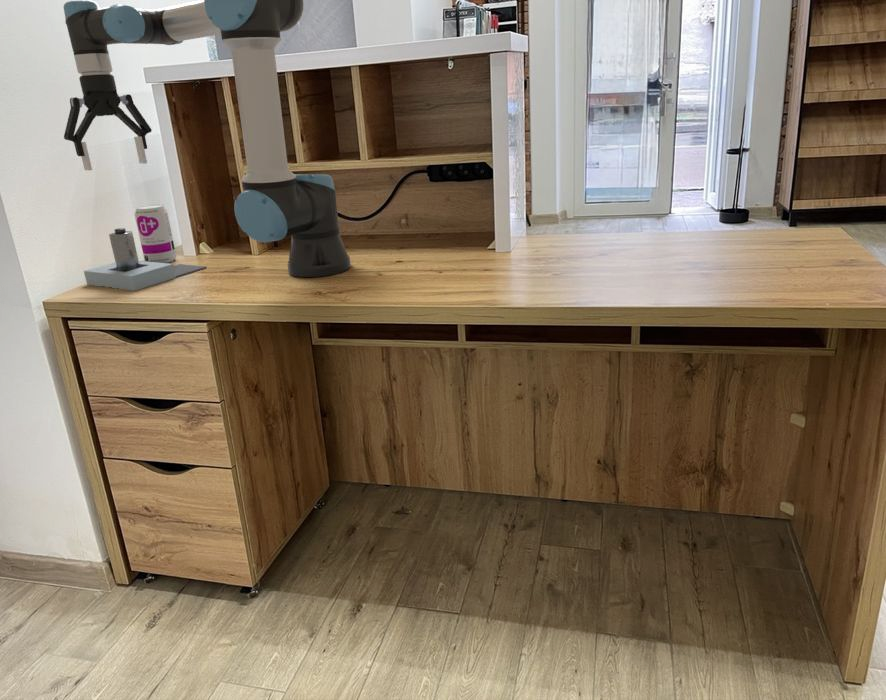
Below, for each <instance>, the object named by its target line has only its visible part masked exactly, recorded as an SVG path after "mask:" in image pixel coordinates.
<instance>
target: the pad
mask: <svg viewBox="0 0 886 700" xmlns="http://www.w3.org/2000/svg"><path fill="white" fill-rule="evenodd" d="M173 267H174V272H175V277H176V278H180V277H182V276H186V275H188V274H192V273H195V272H198V271H202V270H204V269H205V270H206V269H207V266H206V265H205V266H203V265H195V264H194V265H193V264H181V263H179V264H175V265H173ZM176 278H175V279H176Z"/></svg>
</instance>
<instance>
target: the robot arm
mask: <svg viewBox="0 0 886 700" xmlns="http://www.w3.org/2000/svg"><path fill="white" fill-rule="evenodd" d="M304 5H305V4H304V0H196V1H192V2H186V3H182V4H178V5H177V4H176V5H173V6H172V5H171V6H168V7H163V8H155V9H150V8H149V9H147V8H137V7H136V8H135V7H134V6H132V5H130V4H113V5H111V6H106V7H102V8H101V7H99V4H98V3H97V2H96V1H93V0H70V1H66V2H65V3H64V4H63V12H64V18H65V25H66V27H67V32H68V36H69V39H70V44H71V47H72V52H73V57H74V60H75V61H74V62H75V65H76V70H77V73H78V74H80V76H79V82H80V83H79V84H80V87H81V91H82V96H83V97H82V98H79V97H77V96H76V97H71V98H70V99H69V104H70V111H69V115H68V118H67V123H66V126H65V131H64V134H63V139H64V140H66V141H70V142H73V145H74V149H75V152H76V155H77V156H78V157H81V159H82V160H81V161H82V165H83V169H84V171H93V167H92V161H91V159H90V155H89V150H88V147H87V142H86V141H82V140H83V139H84V138H85V136H86V133H87V132H88V130H89V129H90V126H91V125H92V123H93V121H94V119H95V118H96V117H103V116H106V117H107V116H115V117H117V118H118V119H119V120H120V121H121V122H122V123H123V124H124V125H125V126H127V127H128V128H129V129H130V130H131V131H132V132H133V133H134V134H135V135H136V136H133V138H134V139H133V140H134V143H135V149H136V152H137V157H138V162H139V164H144V165H145V164H148V160H147V156H146V155H147V154H146V150H147V149H148V145H147V139H146V136H147V134H149V133H152V127H151V126H150V125H149V123H148V122H147V120H146V119H145V118H144V116H143V115H142V113H141V112H140V111H139V109H138V108H137V106H136V104H134V100H133V98H132V95H131V94H122V95H121V96H120V95H119V94H118V91H117V85H116V81H115V75H113V74H111V73H112V72H113V67H112V61H111V56H110V51H109V49H108V45H117V44H133V45H134V44H135V45H136V44H138V45H148V44H149V45H150V44H151V45H165V46H174V45H180V44H182V43H184V41H188V40H194V39H201V38H206V37H212V36H218V35H219V36H220V35H221V42H222V43H223V44H224V45H225V46H226V47H228V49H230V51H231V52H230V53H231V58H232V59H231V61H232V65H233V67H232V68H233V72H234V73H233V74H234V79H235V80H234V81H235V88H236V95H237V102H238V111H239V117H240V123H241V132H242V140H243V147H244V148H243V149H244V153H245V161H246V168H247V169H246V170H247V171H246V173H245V174H244V175H243V176H242V178H241V185H242V192H241V193H239V194H238V195H237V197H236V198H237V199H235V202H234V206H233V207H234V209H233V210H234V216H235V219H236V222H237V223H238V227H239V228H240V229H241V230H242V231H243V232H244V233H246V235H247V236H248V237H249V238H250V239H251V240H254V241H256V242H258V243H259V242H260V243H271V242H278V241H280V240H283V239H285V238H288V237H290V238H291V240H290V241H291V243H290V249H289V256H288V261H287V270H288V274H289V275H290V276H293V277H298V278H316V277H317V278H318V277H319V278H320V277H325V276H326V277H327V276H332V275H336V274H337V275H338V274H340V273H343V272H345V271H348V270H349V269H351V266H352V265H351V259H350V255H349V254H348V252H347V249H346V248H345V245H344V242H343V240H342V237H341V233H340V224H339V216H338V206H337V197H336V188H335V184H334V183H335V182H334V180H333V177H332V176H331V175H329V174H326V173H320V174H317V173H315V174H314V173H313V174H311V173H309V174H307V173H305V174H304V173H301V174H299V173H297V174H295V173H293V172H292V170H290V168H289V164H288V155H287V146H286V139H285V129H284V123H283V122H284V121H283V116H282V115H283V113H282V105H281V95H280V88H279V80H278V77H279V76H278V71H277V61H276V52H275V49H276V47H277V46H278V44H279V43H280V42H281V39H282V38H281V32H283V33H284V32H286V31H289V30H291V29H293V28H294V27H295V26H296V25H297V24H298V23H299V21H300V20H301V18H302V15H303V12H304ZM121 103H122V104H123V105H124V106H125V108H126V109H127V111H128V112H129V114H130V116H131V117H132V118H133V119H131V117H130V116H128V115H127V114H126V112H125V111H124V110H123V109H122V108H121V107H119V106H120V104H121ZM83 106H85V107H86V108H87V110H86V112H85V114H84V117H83V119H82V121H81V122H80V124H79V126H78V127H77V124H78V119H79V116H80V111H81V108H82V107H83ZM76 128H77V130H76ZM75 131H76V132H75Z"/></svg>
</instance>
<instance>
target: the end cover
mask: <svg viewBox="0 0 886 700" xmlns="http://www.w3.org/2000/svg"><path fill="white" fill-rule="evenodd" d="M113 231H114V232H112V233H109V235H108V237H109V240H110V245H111V248H112V254H113V256H114V257H113V258H114V263H116V267H117V271H121V272H127V271H131V270H134V269H138V268H140V265H139V261H140V260H139V257H138V256H139V255H138V253H137V247H136V242H135V237H134V235H133V231H131V230H126V228H124V227H120V228H114V230H113Z"/></svg>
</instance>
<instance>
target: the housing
mask: <svg viewBox="0 0 886 700" xmlns="http://www.w3.org/2000/svg"><path fill="white" fill-rule="evenodd" d="M139 265H140V268H138V269H134V270H131V271H127V272H121V271H117V267H116V263H115V262H112V263H108V264H104V265H100V266H98V267H94V268H89V269H86V270H83V274H84V277H85V282H86V285H87V286H93V285H94V287H101V286H105V287H104V288H109V287H112V288H111V289H117V288H119V290H127V291H134V292H135V291H139V290H141V289H145V288H148V287H151V286H154V285H158V284H161V283H163V282H167V281H171V280H173V279H176V277H175V272H174V267H173V266H174V264H173V263H157V262H146V261H145V260H144V261H143V260H139Z"/></svg>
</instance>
